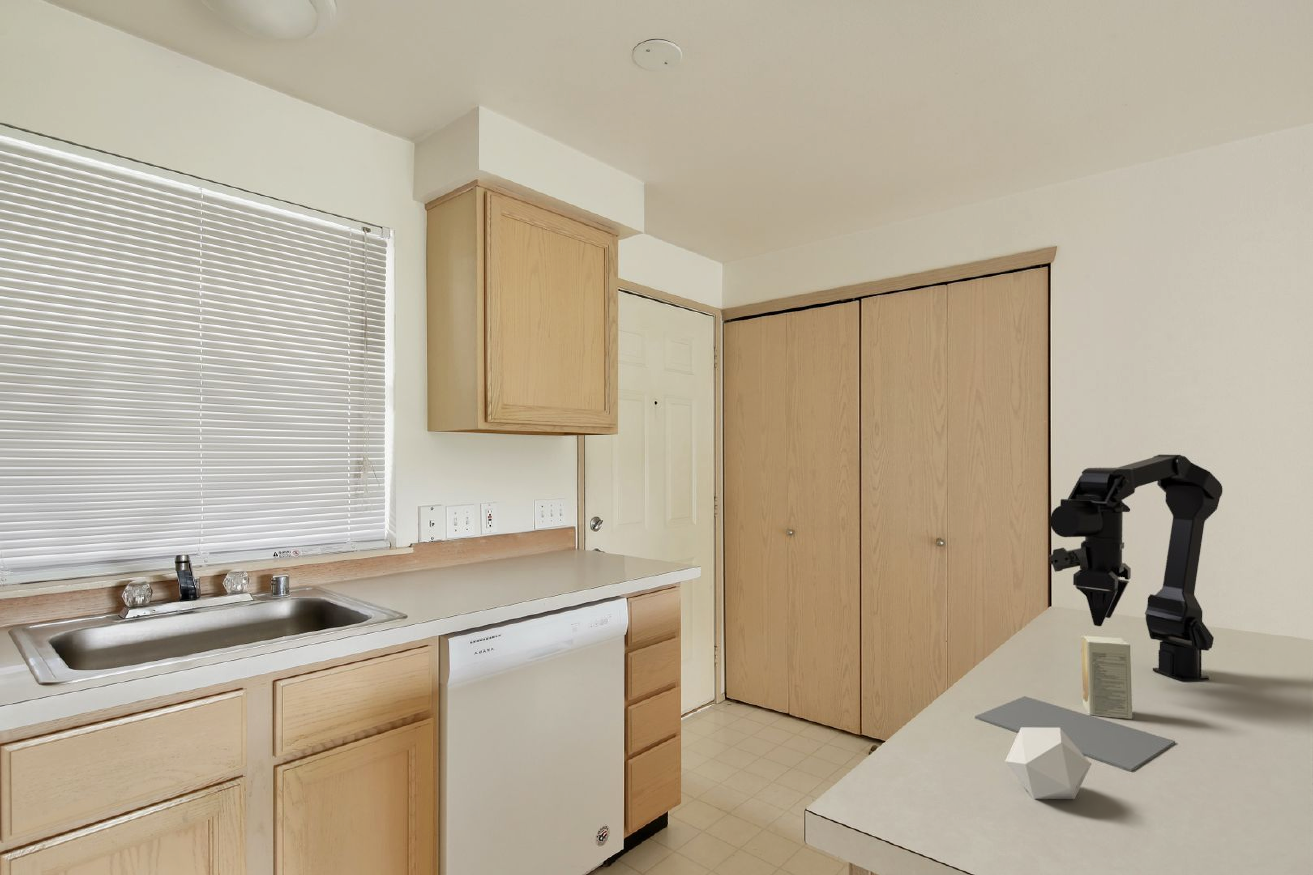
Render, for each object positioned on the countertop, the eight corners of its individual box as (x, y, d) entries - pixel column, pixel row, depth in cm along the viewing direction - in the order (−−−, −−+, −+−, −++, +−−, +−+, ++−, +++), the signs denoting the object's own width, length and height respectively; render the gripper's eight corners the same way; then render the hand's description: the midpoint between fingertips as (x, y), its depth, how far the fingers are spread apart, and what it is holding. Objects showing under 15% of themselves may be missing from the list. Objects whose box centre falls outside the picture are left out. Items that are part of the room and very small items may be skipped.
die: (1087, 824, 80) (1112, 748, 83) (1017, 781, 81) (1045, 708, 85) (1048, 814, 87) (1073, 745, 91) (985, 775, 89) (1012, 708, 92)
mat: (1024, 697, 119) (1024, 696, 119) (1175, 742, 101) (1175, 740, 101) (975, 717, 110) (975, 715, 110) (1131, 771, 92) (1131, 769, 92)
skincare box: (1124, 710, 114) (1124, 637, 114) (1133, 720, 110) (1133, 644, 110) (1080, 705, 116) (1080, 633, 116) (1087, 715, 112) (1087, 640, 112)
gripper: (1064, 528, 137) (1063, 606, 137) (1041, 535, 123) (1040, 621, 123) (1131, 534, 130) (1130, 616, 129) (1114, 542, 116) (1113, 634, 116)
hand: (1102, 621), depth 125 cm, fingers open, 9 cm apart
